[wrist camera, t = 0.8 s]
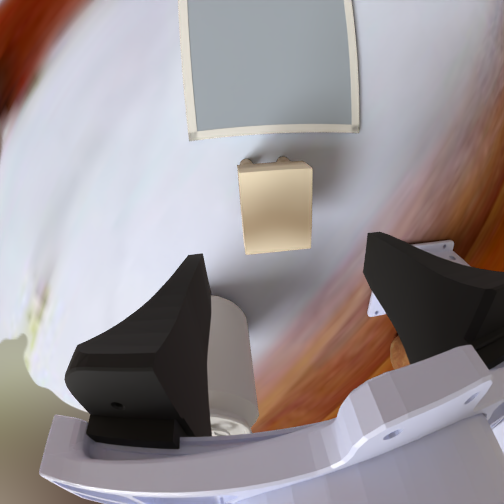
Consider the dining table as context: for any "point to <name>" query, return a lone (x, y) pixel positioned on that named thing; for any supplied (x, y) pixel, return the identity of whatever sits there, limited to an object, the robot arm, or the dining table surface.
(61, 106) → the dining table surface
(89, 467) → the robot arm
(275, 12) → the mat
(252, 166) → the small wooden stool
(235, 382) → the can
